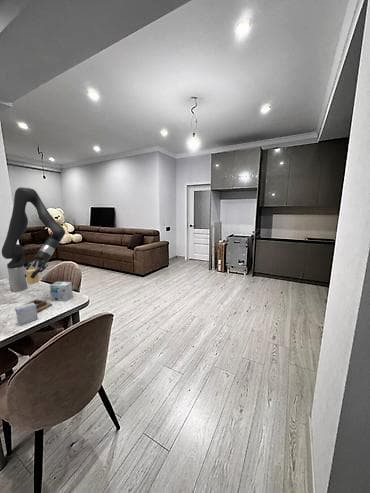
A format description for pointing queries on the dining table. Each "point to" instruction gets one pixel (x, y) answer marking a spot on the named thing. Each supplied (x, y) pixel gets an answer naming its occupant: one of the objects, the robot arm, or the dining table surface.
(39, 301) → the walnut dock
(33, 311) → the medicine box
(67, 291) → the light bulb box
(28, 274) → the ochre post
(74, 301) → the dining table surface
